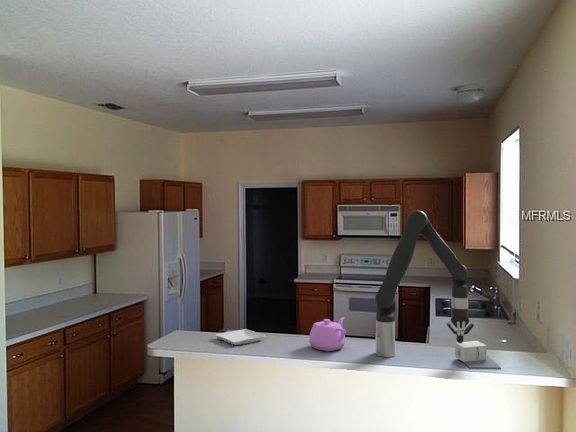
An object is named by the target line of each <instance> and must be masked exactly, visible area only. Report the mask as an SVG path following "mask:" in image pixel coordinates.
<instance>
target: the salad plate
mask: <svg viewBox="0 0 576 432" xmlns="http://www.w3.org/2000/svg"><path fill="white" fill-rule="evenodd" d="M214 337H215V338H216V337H217V339H220V341H221V340H222V341H223V340H224V341H223V342H226V343H228V344H230V343H231V344H230V345H233V344H234V345H233V346H241V344H242V345H246V344H250V343H255V342H258V341H259V342H260V341H263V340H264V339H265V338H266V335H265V334H262V333H260V332H259V333H258V332H256V331H253V330H250V329H247V328H243V329H238V330H232V331H226V332H221V333H216V334H215V336H214Z"/></svg>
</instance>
